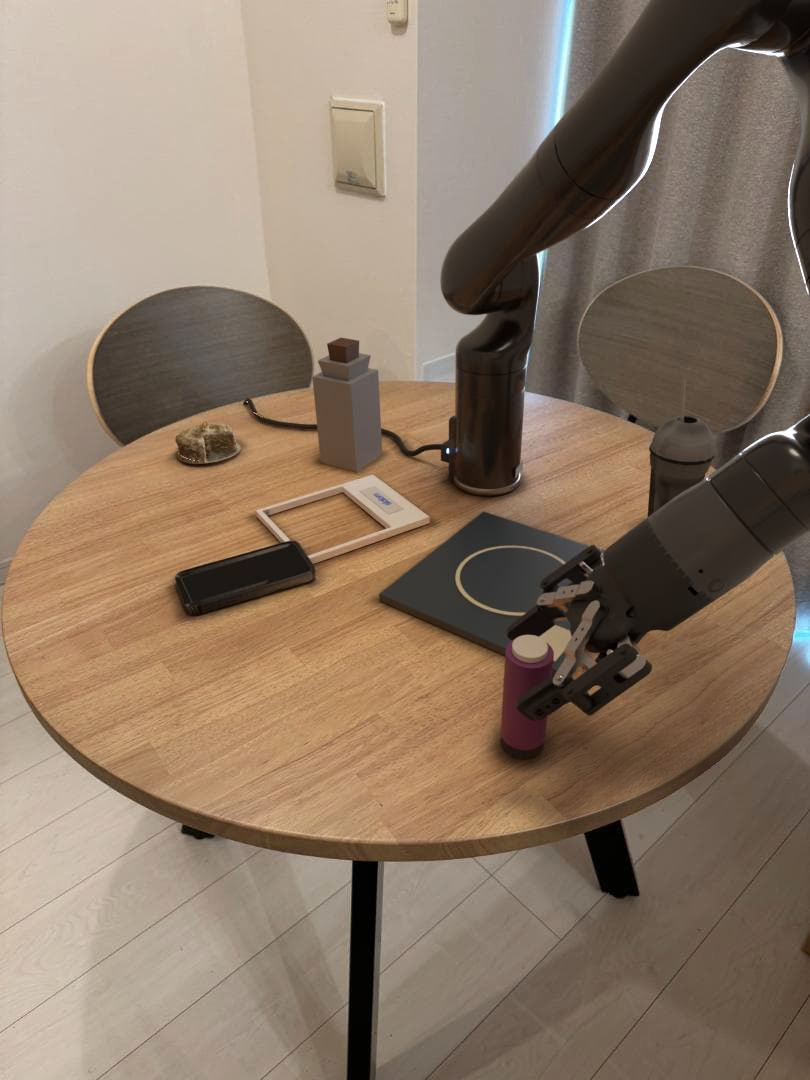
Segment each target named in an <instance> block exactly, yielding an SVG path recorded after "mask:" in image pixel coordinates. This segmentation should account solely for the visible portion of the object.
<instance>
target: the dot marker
mask: <svg viewBox="0 0 810 1080" xmlns="http://www.w3.org/2000/svg"><path fill="white" fill-rule="evenodd" d="M553 659H554V652H553V649H552V647H551V646H550V645H549V644H548V643H547V642H545V641H544V640H543V639H542V638H540V637H538V636H534V635H522V636H519V637H517V638H516V639H514V640H512V641H511V642H510V643H509V644H508V645H507V647H506V651H505V655H504V666H503V667H504V669H503V687H502V703H501V718H500V719H501V720H500V721H501V722H500V736H501V738H500V739H501V740H500V742H501V743H500V744H501V746H502V748H503V751H505V753H506V754H507V755H509V756H511V757H513V758H514V759H519V760H530V759H533V758H536V757H537V756H539V755H540V754H541V752H542V751H543V748H544V743H545V740H546V733H547V725H548V716H547V717H546V718H544V719H543V720H539V721H531V720H529V719H528V718H527V717H525V716H524V715H523V714H521V713H520V712H519V711H518V710H517V705H516V700H517V699H518V698H519V697H521V696H522V695H524V694H525V693H526V692H528V691H529V690H531V689H532V688H534V687H535V686H537V685H538V684H539V683H541V682H542V681H544V680H545V679H547V678H548V677H550V676H552V669H553ZM552 677H553V676H552Z"/></svg>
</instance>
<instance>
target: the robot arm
mask: <svg viewBox="0 0 810 1080" xmlns="http://www.w3.org/2000/svg"><path fill="white" fill-rule="evenodd" d="M726 48H729V49H730V48H731V49H735V50H740V51H744V52H745V51H746V52H750V53H755V54H761V55H766V56H775V57H776V58H777V61H778V62H779V64H780V65H781V68H782V69H783V70H784V72H785V74H786V77H787V78H788V81H789V83H790V85H791V87H792V89H793V92H794V95H795V98H796V101H797V105H798V111H799V117H800V125H799V128H800V129H799V137H798V144H797V149H796V153H795V157H794V161H793V165H792V169H791V174H790V180H789V183H788V184H789V185H788V197H787V208H788V209H787V210H788V211H787V212H788V221H789V229H790V233H791V238H792V241H793V246H794V249H795V253H796V256H797V260H798V263H799V267H800V271H801V274H802V277H803V282H804V284H805V288H806V292H807V295H808V297H809V299H810V0H649V1H648V2H647V4H646V5H645V7H644V8H643V10H642V11H641V13H640V15H638V18H637V19H636V20H635V22H634V24H633V25H632V26H631V28H630V30H629V31H628V33H627V34H626V35H625V36H624V38H623V39H622V40H621V42H620V44H619V45H618V46H617V47H616V49H615V50H614V51H613V53H612V54H611V56H610V57H609V58H608V60H607V61H606V62H605V63H604V65H603V66H602V67H601V69H600V70H599V71H598V73H597V74H596V75H595V77H594V78H593V79H592V81H591V82H590V83H589V84H588V86H587V87H586V88H585V90H583V92H582V93H581V95H579V97H578V98H577V99H576V101H574V103H573V104H572V105H571V106H570V107H569V108H568V110H567V111H565V113H564V114H563V115H562V117H561V118H560V119H559V120H558V121H557V122H556V124H555V125H554V126H553V128H552V129H551V130H550V132H549V133H548V134H547V135H546V136H545V137H544V139H543V140H542V142H541V143H540V144H539V146H538V147H537V148H536V150H535V151H534V152H533V153H532V155H531V157H530V158H529V159H528V161H527V162H526V163H525V164H524V165H523V167H522V168H521V169H520V170H519V171H518V172H517V174H516V175H514V177H513V178H512V180H511V181H510V182H509V183H508V184H507V185H506V187H505V188H504V189H503V191H502V192H501V193H500V194H499V195H498V196H497V197H496V198H495V200H494V201H493V202H492V203H491V204H490V205H489V207H488V208H486V209H485V210H484V212H483V213H482V214H480V215H479V217H477V219H475V220H474V221H473V222H472V223H471V224H470V225H469V226H467V227H466V229H465V230H463V231H462V232H461V233H460V234H459V235H458V236H456V238H455V239H454V240H453V242H452V243H451V244H450V246H449V247H448V249H447V250H446V253H445V255H444V257H443V260H442V263H441V267H440V268H441V269H440V272H439V273H440V274H439V275H440V276H439V284H440V290H441V294H442V297H443V299H444V301H445V302H446V304H447V305H448V306H449V308H451V309H452V310H453V311H455V312H457V313H458V314H461V315H465V316H483V315H484V317H483V319H482V320H481V321H480V323H479V324H478V325H476V327H475V328H473V329H472V330H471V331H469V332H468V333H466V334H465V335H463V336H462V337H461V338H460V339H459V340H458V342H457V343H456V346H455V354H454V355H455V357H454V363H455V367H454V368H455V369H454V370H455V371H454V375H455V376H454V389H455V390H454V402H455V403H454V414H453V415H452V416H450V418H449V419H448V439H447V440H446V441H444V442H443V443H431V444H430V443H429V444H425V445H421V446H419V447H418V448H416V449H414V450H410V449H408V448H407V446H406V445H405V443H404V441H403V440H402V438H401V437H400V436H399V435H398V434H397V433H395V432H394V431H391V430H389V429H386V428H382V427H381V435H385V436H388V437H390V438H392V439H393V440H394V441H395V442H396V443H397V445H398V447H399V449H400V450H401V452H402V453H403V454H404V455H406V456H408V457H416V456H419V455H420V454H422V453H424V452H427V451H440V462H442V463H446V464H448V481H450V482H453V483H454V485H455V486H456V487H457V488H458V489H460V490H461V491H463V492H466V493H468V494H471V495H476V496H485V497H486V496H499V495H504V494H507V493H510V492H513V491H514V490H516V489H517V488H518V487H519V485H520V484H521V472H522V471H523V469H524V460H522V461H521V459H522V442H523V427H524V426H523V425H524V412H525V411H524V410H525V409H524V408H525V395H526V377H527V363H528V362H527V360H528V354H529V351H530V349H531V347H532V344H533V342H534V341H533V340H534V336H535V327H536V318H537V310H538V303H539V295H540V294H539V293H540V283H541V266H540V265H541V262H540V257H539V253H541V252H544V251H545V250H548V249H549V248H552V247H554V246H556V245H557V244H560V243H562V242H564V241H565V240H567V239H570V238H571V237H574V235H577V234H578V233H580V232H582V231H584V230H585V229H587V228H589V227H590V226H591V225H593V224H594V223H596V222H597V221H599V220H600V219H601V218H603V217H604V216H605V215H606V214H607V213H608V212H609V211H611V210H612V209H613V207H615V205H617V204H618V203H619V202H620V201H621V200H622V199H623V198H624V197H625V196H626V195H627V194H628V193H629V192H630V191H631V190H633V188H634V187H635V186H637V184H638V183H639V182H640V181H641V180H642V178H643V177H644V176H645V174H646V172H647V171H648V169H649V167H650V165H651V162H652V160H653V158H654V156H655V155H654V154H655V151H656V147H657V143H658V140H659V133H660V128H661V123H662V118H663V114H664V110H665V108H666V105H667V104H668V102H669V100H670V99H671V98H672V96H673V95H674V94H675V93H676V92H677V90H678V89H679V88H680V87H681V86H682V85H683V84H684V83H685V82H686V81H687V79H688V78H689V77H691V75H692V74H693V73H694V72H695V71H696V70H697V69H698V68H699V67H701V66H702V65H703V64H704V63H705V62H706V61H707V60H708V59H710V58H712V56H714V55H715V54H717V53H718V52H720V51H722V50H725V49H726ZM246 401H248V403H247V402H246ZM242 405H243V406H248V408H249V409H250V411H251V410H252V411H253V412H255V413H257V412H258V410H257V408H256V406H255V404H254V402H253V400H252V399H251V398H249V397H247V398H246V399H244V401H243V403H242ZM252 411H251V413H252V415H253V416H254V418H256V419H257V420H258V421H261V422H263V423H265V424H268V425H271V426H276V427H281V428H288V429H297V430H318V429H317V423H297V422H296V423H295V422H288V421H287V422H286V421H282V420H281V421H280V420H276V419H275V420H274V419H271V418H268V417H265V416H263V418H262V417H260V416H258V415H256V414H254V413H253V412H252ZM264 417H265V418H264ZM266 418H267V419H266ZM647 517H648V516H647ZM809 533H810V413H809V414H808V415H807V416H805V417H803V418H802V419H801V420H799V421H798V422H797V423H796V424H794V425H792V426H790V427H789V428H788V429H785V430H782V431H775V432H772V433H769V434H767V435H765V436H763V437H761V438H760V439H758V440H756V441H755V442H752V443H751V444H750V445H749V446H747V447H746V448H744V449H743V450H741V451H740V452H739V453H737V454H736V455H734V456H733V457H731V458H730V459H729V460H728V461H727V462H725V463H724V464H722V465H721V466H720V467H718V468H717V469H716V470H714V471H713V472H712V473H711V474H709V475H708V477H705V478H704V480H702V481H701V482H699V483H698V484H696V485H694V486H692V487H691V488H689V489H687V490H685V491H684V492H682V493H680V494H679V495H677V496H676V497H674V498H673V499H672V500H670V501H669V502H668V503H666V504H665V505H664V506H662V507H661V508H660V509H658V510H657V511H656V512H654V513H653V514H652V515H650V516H649V517H648V518H645V519H643V520H642V521H641V522H640V523H638V524H637V525H636V526H634V527H632V529H630V530H629V531H628V532H626V533H625V534H624V535H623V536H621V537H620V538H618V539H617V540H616V541H614V542H612V544H610V545H609V546H608V547H606V549H604V551H605V552H604V553H603V552H601V551H600V550H601V549H600V548H599V547H597V546H596V545H595V544H591V545H588V546H589V547H588V548H586V549H585V550H583V551H582V552H581V553H579V554H578V555H576V556H575V557H573V558H572V559H571V560H569V561H568V562H566V563H565V564H564V565H562V566H561V567H559V568H558V569H557V570H555V571H554V572H552V573H551V574H550V575H548V576H547V577H545V578H544V579H543V580H542V581H541V583H540V587H541V588H542V589H543V594H542V595H541V596H540V597H539V598H538V600H537V605H536V606H534V607H533V608H532V609H530V610H529V611H528V612H526V613H525V614H524V615H522V617H520V618H518V619H517V620H516V621H515V622H514V623H513V624H511V625H510V626H509V627H508V628H507V637H508V638H509V639H510V640H514V639H516V638H517V637H519V636H522V635H534V636H538V637H539V636H541V635H542V634H544V633H545V632H546V631H548V630H549V629H550V628H552V627H553V626H555V622H554V619H555V620H556V621H566V620H568V621H569V622H570V623H571V627H570V633H571V639H570V641H569V642H568V644H567V645H566V647H565V655H566V657H565V659H564V661H563V663H562V664H561V666H560V667H559V669H558V671H557V672H556V674H555V675H554V677H553V676H550V677H548V678H547V679H545V680H544V681H542V682H541V683H539V684H538V685H537V686H535V687H534V688H532V689H531V690H529V691H528V692H526V693H525V694H524V695H522V696H521V697H519V698H518V699H517V700H516V705H517V710H518V711H519V712H520V713H521V714H523V715H524V716H525V717H527V718H528V719H529V720H531V721H539V720H543V719H544V718H546V717H547V718H548V717H549V716H550V715H552V714H553V713H555V712H556V711H558V710H559V709H561V708H562V707H563V706H566V704H569V703H571V704H572V705H574V706H575V707H577V708H578V709H579V710H580V711H581V712H583V713H584V714H585V715H586V716H592V715H595V714H596V713H597V712H598V711H600V710H602V709H603V708H604V707H605V706H607V705H608V704H609V703H611V702H612V701H614V700H615V699H617V698H618V697H619V696H621V695H622V694H623V693H625V692H626V691H628V690H629V689H631V688H632V687H634V686H635V685H636V684H637V683H639V682H641V681H642V680H643V679H645V678H646V677H647V676H649V675H650V674H651V672H652V670H653V664H652V663H651V662H650V661H649V660H648V659H647V658H646V657H645V656H644V654H642V653H641V651H640V648H639V646H638V644H639V643H640V641H641V640H642V639H643V638H644V637H645V636H646V635H647V634H648V633H649V632H652V631H662V632H669V631H671V630H673V629H675V628H676V627H677V626H679V625H681V624H682V623H684V622H685V621H687V620H688V619H689V618H691V617H693V616H694V615H696V614H697V613H698V612H700V611H702V610H703V609H705V608H706V607H707V606H709V605H710V604H712V603H713V602H715V601H716V600H718V599H720V598H721V597H722V596H724V595H725V594H727V593H728V592H731V590H733V589H735V588H736V587H737V586H739V585H740V584H742V583H744V581H746V580H747V579H748V578H750V577H751V576H753V575H754V574H755V573H756V572H757V571H759V570H760V568H762V567H763V566H764V565H766V563H767V562H769V561H770V560H771V559H773V558H774V557H775V556H777V555H778V554H780V553H782V552H783V551H784V550H787V548H789V547H790V546H792V545H794V543H796V542H798V541H799V540H800V539H803V538H804V537H805V536H807V535H808V534H809ZM599 549H600V550H599ZM564 579H569V580H571V581H572V583H570V584H569V585H567V586H564V587H561V586H560V585H559V584H558V583H560V582H561V581H563V580H564ZM585 650H586V651H585ZM586 652H588V653H592V654H598V655H597V657H596V658H595V659H593V658H592V657H591V656H590V655H589V654H588V653H586ZM579 666H580V667H581V669H582V670H581V671H582V672H581V673H580V675H579V676H577V678H573V676H574V674H575V672H576V670H577V669H578V667H579ZM597 686H598V687H600V688H599V689H597V690H596V691H594V692H593V693H592V694H590V693H589V691H590V690H591V689H592V688H593V687H597Z"/></svg>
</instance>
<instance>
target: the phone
mask: <svg viewBox="0 0 810 1080" xmlns="http://www.w3.org/2000/svg"><path fill="white" fill-rule="evenodd" d="M308 556H309V555H308V554H307V553H306V551H305V550H304V548H303V547H302V545H301V544H300V542H299V541H296V540H290V541H287V542H283V543H281V542H280V543H276V544H273V545H268V546H266V547H265V546H264V547H261V548H259V549H258V548H257V549H255V550H251V551H247V552H244V553H240V554H236V555H233V556H229V557H226V558H222V559H218V560H215V561H212V562H208V563H204V564H202V565H201V564H200V565H197V566H194V567H190V568H186V569H183V570H180V571H179V572H177V573H176V574H175V576H174V579H175V584H176V587H177V590H178V593H179V595H180V598H181V601H182V604H183V607H184V609H185V611H186V613H187V614H188V615H191V616H198V615H202V614H205V613H208V612H212V611H214V610H215V611H216V610H219V609H222V608H224V607H225V608H226V607H228V606H231V605H235V604H239V603H242V602H244V601H249V600H252V599H255V598H258V597H261V596H265V595H268V594H271V593H275V592H279V591H282V590H284V589H287V588H292V587H294V586H298V585H301V584H304V583H308V582H310V581H312V580H314V579H315V578H316V575H317V574H316V566H315V565H314V564H313V563H312V562H311V560H310V559H309V557H308Z"/></svg>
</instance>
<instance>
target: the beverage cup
mask: <svg viewBox="0 0 810 1080" xmlns="http://www.w3.org/2000/svg"><path fill="white" fill-rule="evenodd" d="M686 387H687V379H682V380H680V394H679V395H680V396H679V411H678V412H679V413H678V415H677V416H675V417H672V418H669V419H668V420H666V421H665V422H664V423H662V424H661V425H660V426H659V427H658V428H657V430H656V431H655V432H654V435H653V437H652V441H651V442H650V444H649V447H648V451H649V466H650V475H649V489H648V504H647V505H648V506H647V518H648V517H649V516H650V515H652V514H653V513H654V512H656V511H657V510H658V509H660V508H661V507H662V506H664V505H665V504H666V503H668V502H669V501H670V500H672V499H673V498H674V497H676V496H677V495H679V494H680V493H682V492H684V491H685V490H687V489H689V488H691V487H692V486H694V485H696V484H698V483H699V482H701V481H702V480H704V479H705V478H706V474H708V472H709V469H710V467H711V465H712V461H713V460H714V459H715V438H714V437H715V436H714V434H713V432H712V430H711V429H710V428H709V427H708V424H706V423H705V422H704V421H703V420H700V419H699V418H697V417H694V416H691V415H685V406H686V390H687V389H686Z"/></svg>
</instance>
